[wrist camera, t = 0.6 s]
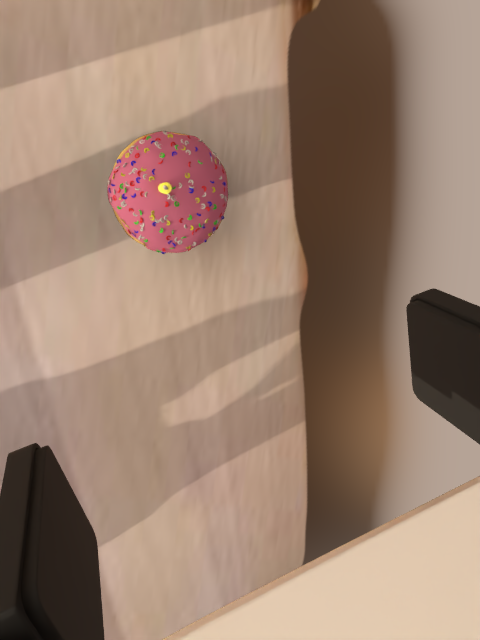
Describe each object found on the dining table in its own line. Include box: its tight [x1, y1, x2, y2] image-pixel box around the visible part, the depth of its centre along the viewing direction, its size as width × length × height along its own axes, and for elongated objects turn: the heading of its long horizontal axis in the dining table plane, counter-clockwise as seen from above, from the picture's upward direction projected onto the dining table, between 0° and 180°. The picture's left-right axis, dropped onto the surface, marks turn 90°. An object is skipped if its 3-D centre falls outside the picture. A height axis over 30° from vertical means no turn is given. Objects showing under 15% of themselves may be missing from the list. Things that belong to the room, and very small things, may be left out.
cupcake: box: [108, 131, 228, 254], centre depth 32 cm, size 9×8×12 cm
